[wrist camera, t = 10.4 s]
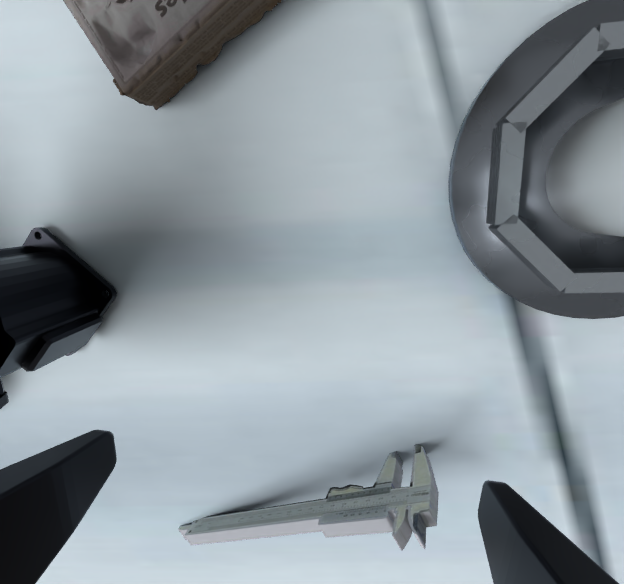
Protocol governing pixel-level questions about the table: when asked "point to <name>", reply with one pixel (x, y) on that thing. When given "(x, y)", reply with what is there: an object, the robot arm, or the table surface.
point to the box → (162, 39)
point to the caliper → (339, 510)
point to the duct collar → (540, 167)
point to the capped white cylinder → (590, 173)
